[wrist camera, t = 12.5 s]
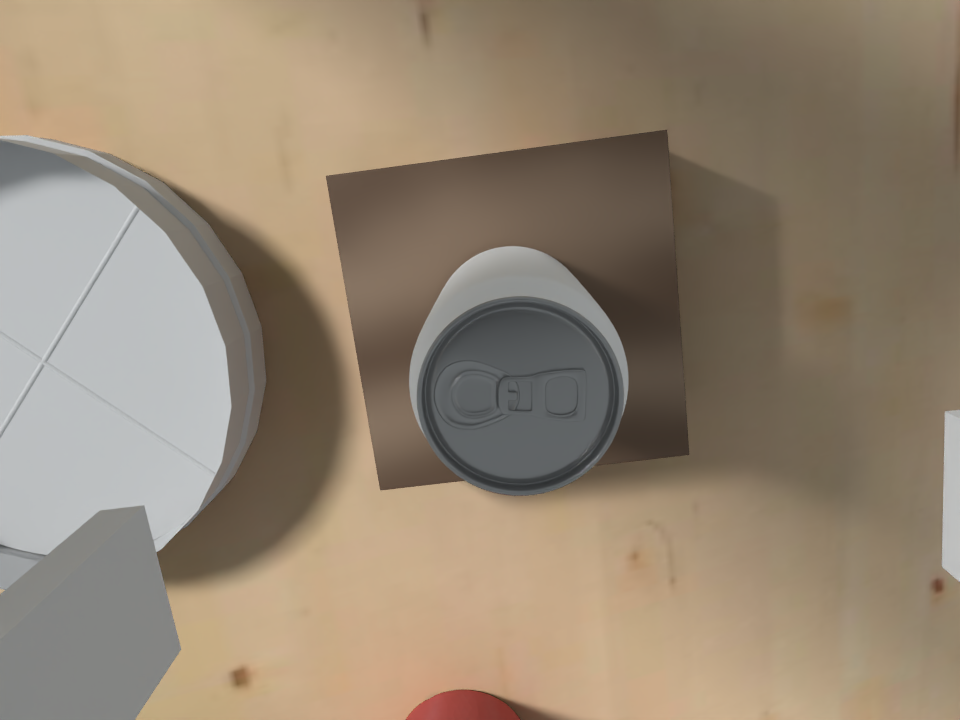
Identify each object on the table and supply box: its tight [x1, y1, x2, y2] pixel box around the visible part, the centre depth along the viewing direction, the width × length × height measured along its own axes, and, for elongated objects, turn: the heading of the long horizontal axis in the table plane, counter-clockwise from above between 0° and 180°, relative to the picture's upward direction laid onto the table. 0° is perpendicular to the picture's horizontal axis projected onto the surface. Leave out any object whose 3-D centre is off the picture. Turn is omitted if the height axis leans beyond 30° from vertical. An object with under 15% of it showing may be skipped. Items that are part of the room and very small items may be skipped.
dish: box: [0, 135, 266, 590], centre depth 36 cm, size 22×22×5 cm
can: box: [409, 246, 628, 496], centre depth 26 cm, size 6×6×12 cm
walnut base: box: [326, 130, 689, 490], centre depth 34 cm, size 14×14×6 cm
